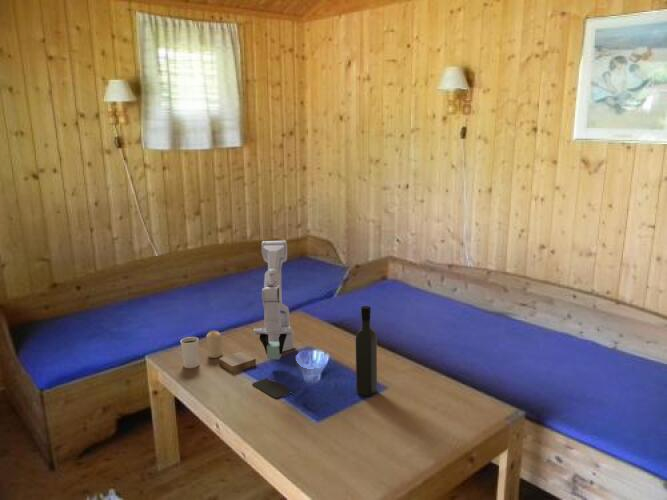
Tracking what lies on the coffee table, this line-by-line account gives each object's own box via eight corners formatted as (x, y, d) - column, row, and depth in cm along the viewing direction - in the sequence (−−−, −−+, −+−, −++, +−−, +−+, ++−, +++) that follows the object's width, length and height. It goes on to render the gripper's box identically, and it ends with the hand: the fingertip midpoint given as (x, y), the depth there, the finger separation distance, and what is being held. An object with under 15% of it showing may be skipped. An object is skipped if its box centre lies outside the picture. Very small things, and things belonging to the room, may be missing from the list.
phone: (268, 377, 195) (293, 390, 184) (268, 379, 196) (294, 393, 185) (250, 383, 191) (276, 398, 180) (250, 386, 191) (276, 400, 180)
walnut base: (242, 358, 214) (241, 351, 213) (256, 366, 207) (255, 358, 206) (219, 365, 208) (218, 358, 207) (232, 374, 200) (232, 366, 200)
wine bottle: (363, 387, 187) (362, 303, 180) (378, 390, 184) (377, 305, 178) (355, 394, 182) (353, 308, 176) (370, 398, 179) (369, 311, 173)
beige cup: (203, 362, 210) (201, 337, 208) (195, 369, 204) (192, 344, 202) (188, 360, 212) (186, 336, 210) (179, 367, 206) (176, 342, 204)
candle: (220, 358, 214) (218, 333, 211) (206, 358, 214) (204, 334, 212) (223, 352, 219) (221, 328, 217) (209, 352, 219) (208, 328, 217)
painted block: (269, 354, 205) (269, 341, 204) (281, 354, 205) (281, 341, 204) (267, 359, 201) (266, 346, 200) (279, 359, 200) (278, 346, 199)
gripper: (250, 321, 196) (252, 357, 199) (290, 322, 195) (291, 357, 198) (255, 315, 203) (257, 349, 206) (293, 315, 202) (295, 349, 205)
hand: (274, 353), depth 202 cm, fingers closed on painted block, 4 cm apart
